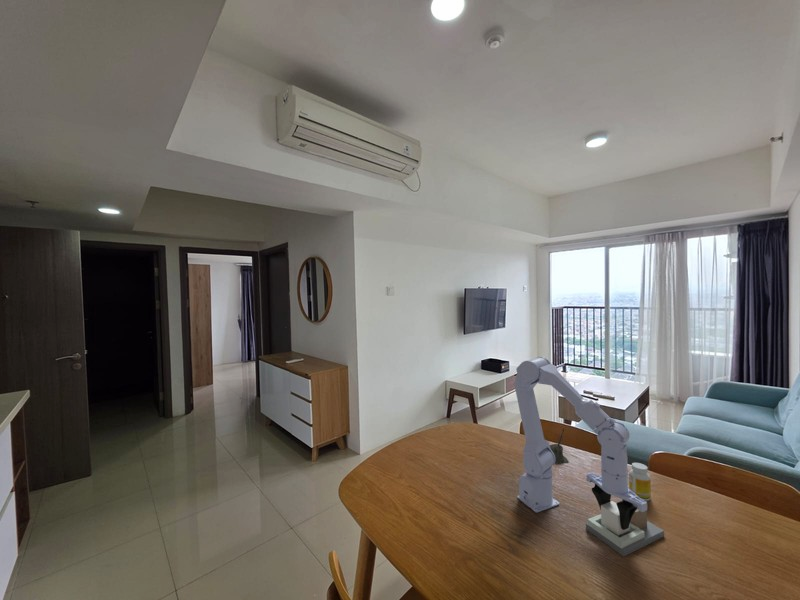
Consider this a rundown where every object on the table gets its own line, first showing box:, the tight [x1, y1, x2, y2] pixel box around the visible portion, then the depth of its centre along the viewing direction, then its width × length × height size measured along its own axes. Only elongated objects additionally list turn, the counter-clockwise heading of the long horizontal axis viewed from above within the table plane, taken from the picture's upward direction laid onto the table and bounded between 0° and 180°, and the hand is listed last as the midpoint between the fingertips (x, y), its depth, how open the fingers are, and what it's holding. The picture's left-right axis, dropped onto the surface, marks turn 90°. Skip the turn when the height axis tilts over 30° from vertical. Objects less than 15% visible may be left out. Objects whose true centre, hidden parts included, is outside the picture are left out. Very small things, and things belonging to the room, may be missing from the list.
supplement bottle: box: [628, 462, 652, 502], centre depth 99 cm, size 5×5×10 cm
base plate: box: [585, 508, 665, 557], centre depth 84 cm, size 16×10×6 cm, turn 112°
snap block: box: [600, 500, 630, 536], centre depth 83 cm, size 4×4×5 cm
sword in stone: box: [549, 427, 570, 464], centre depth 123 cm, size 10×8×12 cm
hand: (615, 521), depth 83 cm, fingers closed on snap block, 4 cm apart
